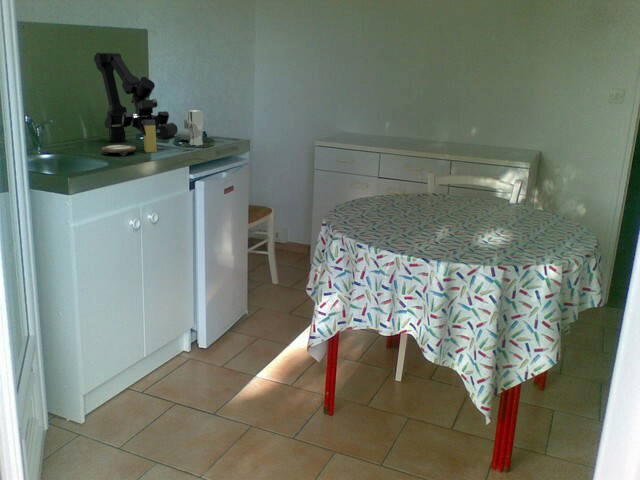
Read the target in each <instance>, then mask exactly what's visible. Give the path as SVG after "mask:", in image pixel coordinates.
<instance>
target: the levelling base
mask: <svg viewBox="0 0 640 480" xmlns="http://www.w3.org/2000/svg"><path fill="white" fill-rule="evenodd" d="M101 151H102V153H103V154H104V155H109V154H110V153H118V154H119V155H120V156H121V155H122V156H121V157H125V155H126V156H127V155H128V153H131V152H135V151H136V146H135V145H131V144H112V145H105V146H102V147H101Z"/></svg>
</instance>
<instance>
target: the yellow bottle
mask: <svg viewBox="0 0 640 480" xmlns="http://www.w3.org/2000/svg"><path fill="white" fill-rule="evenodd" d="M142 124H143V127H144V129H145V132H146V136H144V135H143V147H144V149H143V150H144V152H145V153H157V152H158V149H157V139H156V137H157V136H156V129H155V120H153V119H145V120H143V121H142Z"/></svg>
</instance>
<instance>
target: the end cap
mask: <svg viewBox="0 0 640 480" xmlns="http://www.w3.org/2000/svg"><path fill="white" fill-rule="evenodd" d="M158 131H159V132H158ZM177 133H178V125H177V124H175V123H174V122H169V123H168V122H167V124H161V125H160V124H159V126H157V133H156V138H158V139H157V140H166V139H169V138H172V137H174V136H175V135H176V134H177Z"/></svg>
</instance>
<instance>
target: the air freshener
mask: <svg viewBox="0 0 640 480" xmlns="http://www.w3.org/2000/svg"><path fill="white" fill-rule="evenodd" d="M183 123H184V124H183V125H184V126H183V128H182V129H180V130H179V132H178V133H179V134H178V136H179V137H180V139H181V140H183V139H189V140H190V134H189V129H188V123H187V118H184V119H183ZM203 137H204V132H203V131H202V138H203Z"/></svg>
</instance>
